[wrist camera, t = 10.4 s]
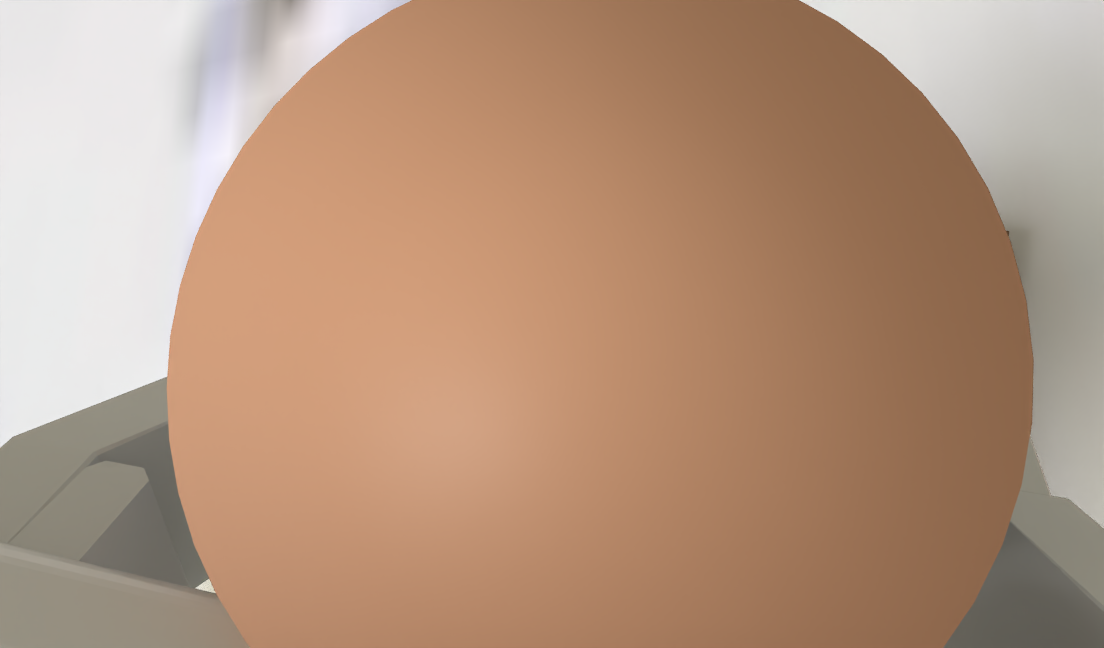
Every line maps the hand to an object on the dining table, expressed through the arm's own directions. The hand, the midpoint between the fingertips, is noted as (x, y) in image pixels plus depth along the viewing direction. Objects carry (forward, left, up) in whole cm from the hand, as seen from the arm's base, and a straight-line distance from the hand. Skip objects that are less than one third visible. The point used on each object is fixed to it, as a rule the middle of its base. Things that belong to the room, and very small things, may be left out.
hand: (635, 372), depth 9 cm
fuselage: (0, 0, -6) cm, 6 cm away
